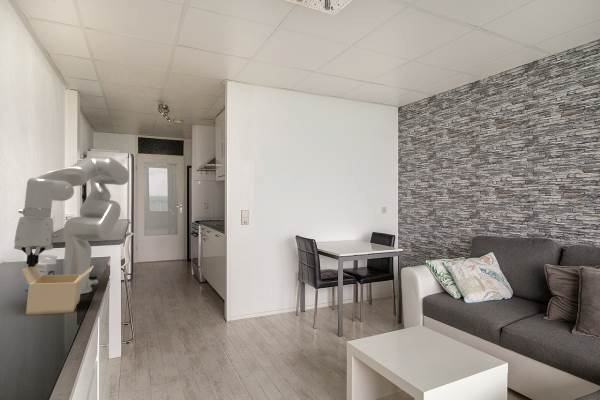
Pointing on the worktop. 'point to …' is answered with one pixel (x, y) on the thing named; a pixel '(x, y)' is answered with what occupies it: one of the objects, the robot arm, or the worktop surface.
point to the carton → (53, 294)
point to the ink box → (45, 266)
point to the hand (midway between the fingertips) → (31, 266)
